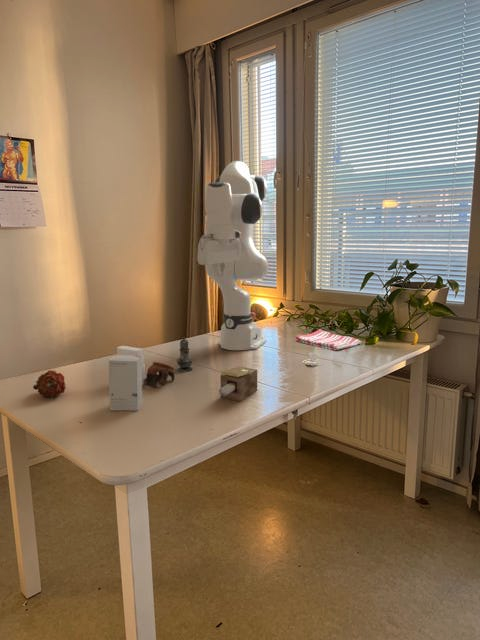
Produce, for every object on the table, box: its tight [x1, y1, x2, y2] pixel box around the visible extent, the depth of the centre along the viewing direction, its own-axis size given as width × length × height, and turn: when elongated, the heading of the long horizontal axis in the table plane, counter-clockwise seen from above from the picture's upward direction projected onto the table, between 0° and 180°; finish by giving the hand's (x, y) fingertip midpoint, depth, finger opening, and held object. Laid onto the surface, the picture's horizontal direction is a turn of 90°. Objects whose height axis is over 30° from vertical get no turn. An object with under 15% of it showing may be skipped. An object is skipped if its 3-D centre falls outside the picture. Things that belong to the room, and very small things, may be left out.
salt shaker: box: [176, 336, 194, 373], centre depth 168 cm, size 6×6×12 cm
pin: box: [218, 381, 237, 397], centre depth 142 cm, size 16×4×4 cm, turn 149°
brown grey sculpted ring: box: [143, 361, 175, 389], centre depth 153 cm, size 12×10×8 cm
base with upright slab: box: [116, 345, 147, 387], centre depth 153 cm, size 9×9×12 cm
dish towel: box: [295, 328, 362, 351], centre depth 204 cm, size 17×23×4 cm
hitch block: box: [220, 365, 258, 402], centre depth 144 cm, size 10×7×7 cm
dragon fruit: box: [32, 369, 67, 399], centre depth 144 cm, size 8×8×12 cm
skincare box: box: [108, 354, 143, 412], centre depth 134 cm, size 8×6×15 cm
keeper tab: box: [220, 367, 249, 377], centre depth 140 cm, size 7×6×1 cm
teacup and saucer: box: [302, 351, 319, 367], centre depth 175 cm, size 9×8×4 cm
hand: (219, 276), depth 155 cm, fingers closed
